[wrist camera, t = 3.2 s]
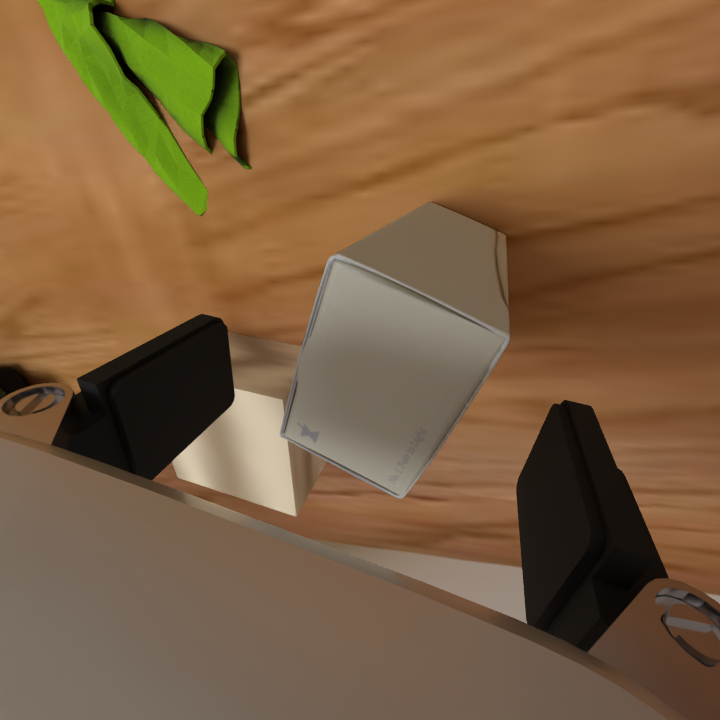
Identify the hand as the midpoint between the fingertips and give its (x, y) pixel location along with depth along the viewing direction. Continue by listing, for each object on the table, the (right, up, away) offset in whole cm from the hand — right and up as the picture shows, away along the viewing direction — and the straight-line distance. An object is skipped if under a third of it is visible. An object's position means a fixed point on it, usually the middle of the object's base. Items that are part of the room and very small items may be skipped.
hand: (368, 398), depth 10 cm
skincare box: (+4, +6, +9) cm, 11 cm away
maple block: (-7, -2, +18) cm, 19 cm away
